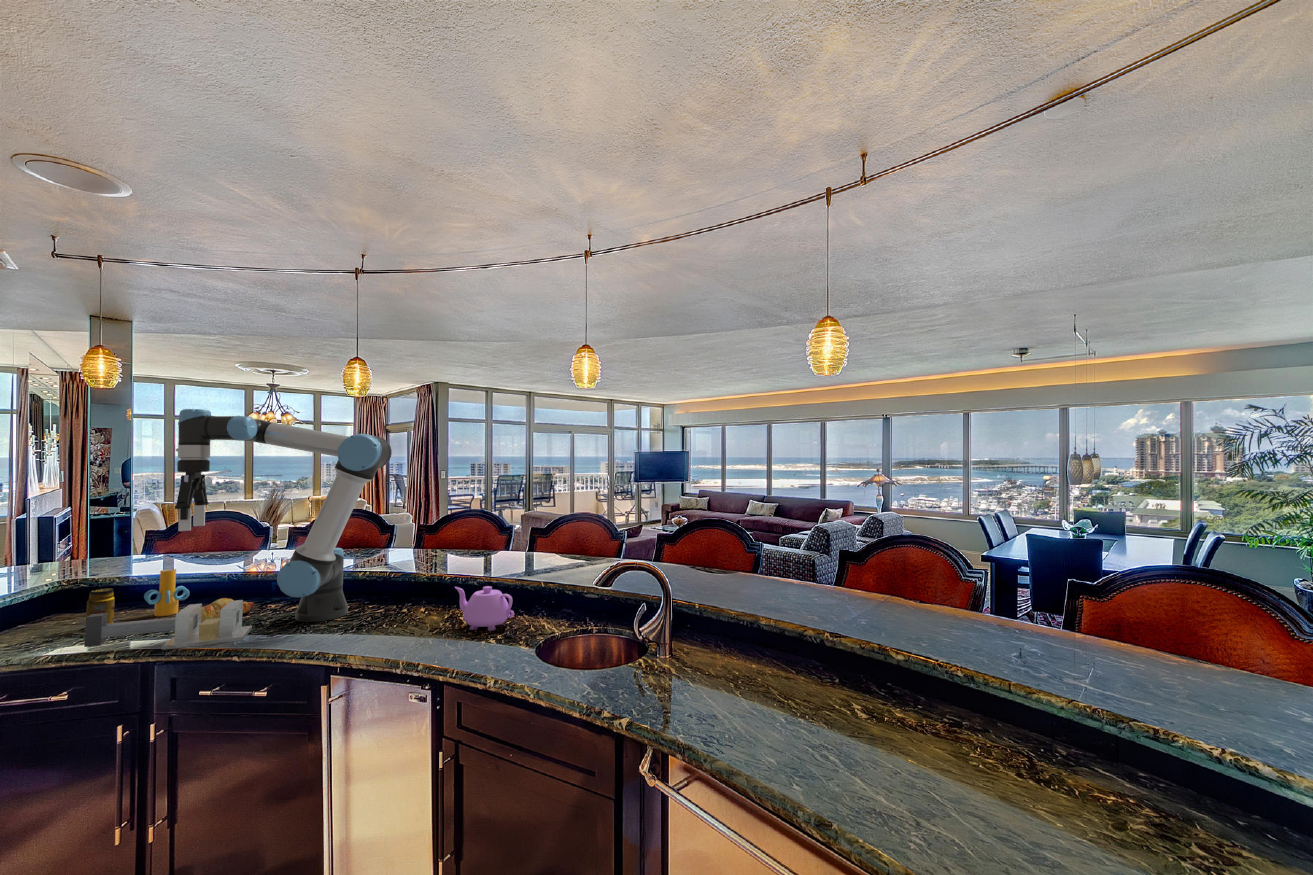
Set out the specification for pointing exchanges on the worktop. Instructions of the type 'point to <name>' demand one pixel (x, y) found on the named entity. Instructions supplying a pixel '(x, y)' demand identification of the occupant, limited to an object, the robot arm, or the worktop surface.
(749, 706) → the worktop surface
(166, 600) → the cylinder
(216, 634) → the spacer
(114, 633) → the bar
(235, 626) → the frame
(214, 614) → the croissant
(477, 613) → the teapot
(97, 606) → the condiment
